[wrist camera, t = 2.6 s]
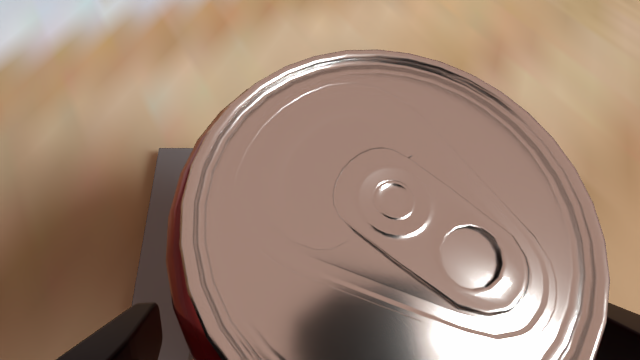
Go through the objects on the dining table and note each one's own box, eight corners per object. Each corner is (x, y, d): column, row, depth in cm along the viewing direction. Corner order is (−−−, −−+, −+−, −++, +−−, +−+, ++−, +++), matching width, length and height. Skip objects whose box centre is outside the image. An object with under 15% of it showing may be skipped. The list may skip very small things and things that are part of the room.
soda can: (205, 310, 16) (43, 200, 5) (318, 203, 18) (368, -14, 8) (327, 448, 14) (479, 730, 3) (432, 305, 17) (696, 203, 6)
